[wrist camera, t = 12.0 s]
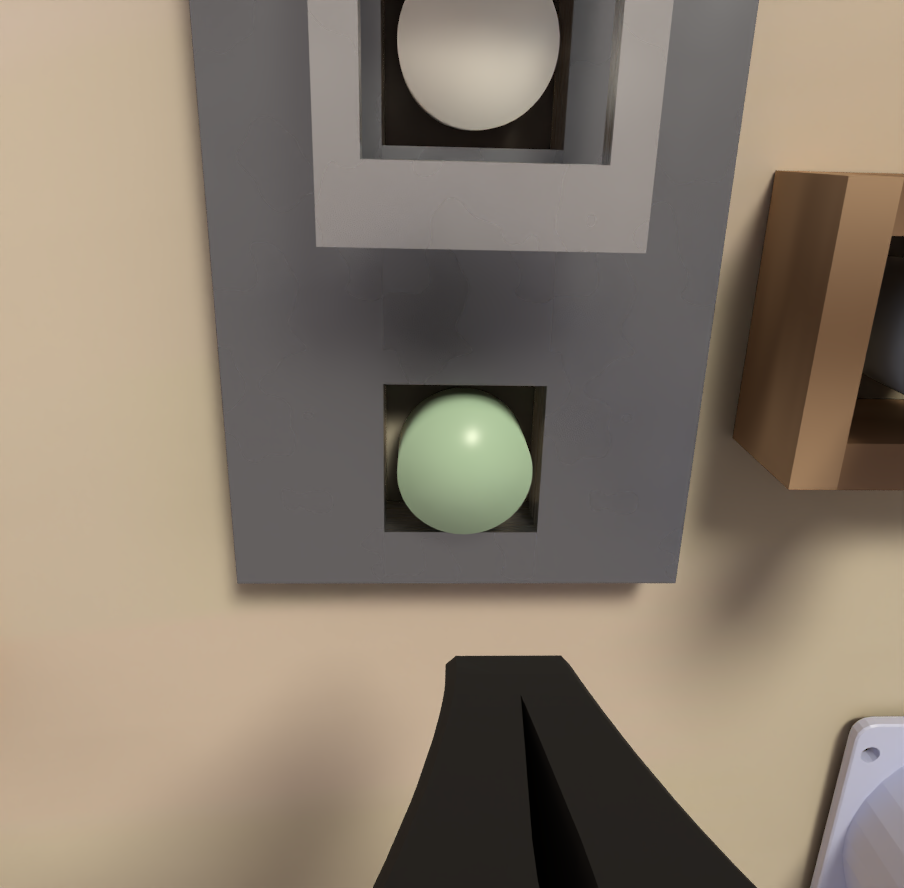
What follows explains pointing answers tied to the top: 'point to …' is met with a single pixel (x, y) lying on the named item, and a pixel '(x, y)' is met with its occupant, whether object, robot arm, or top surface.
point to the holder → (822, 335)
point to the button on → (463, 461)
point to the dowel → (888, 329)
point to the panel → (465, 285)
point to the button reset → (477, 58)
